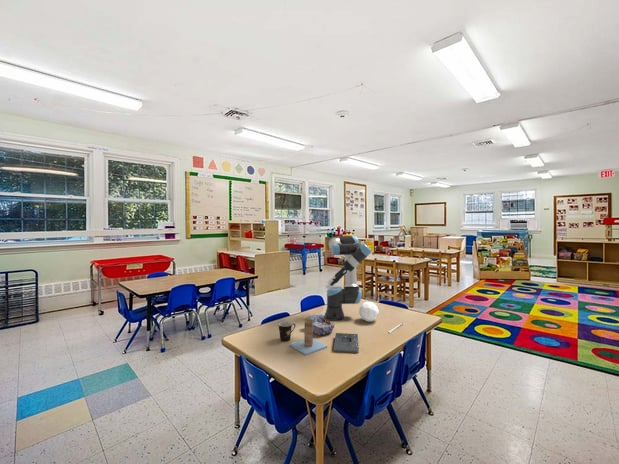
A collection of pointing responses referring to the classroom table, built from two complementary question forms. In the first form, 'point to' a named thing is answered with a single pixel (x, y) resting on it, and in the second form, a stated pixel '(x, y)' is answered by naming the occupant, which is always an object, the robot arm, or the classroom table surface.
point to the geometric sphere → (368, 311)
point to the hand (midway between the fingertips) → (328, 286)
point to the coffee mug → (285, 330)
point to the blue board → (308, 350)
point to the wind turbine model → (395, 328)
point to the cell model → (321, 324)
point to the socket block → (346, 343)
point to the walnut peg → (308, 332)
